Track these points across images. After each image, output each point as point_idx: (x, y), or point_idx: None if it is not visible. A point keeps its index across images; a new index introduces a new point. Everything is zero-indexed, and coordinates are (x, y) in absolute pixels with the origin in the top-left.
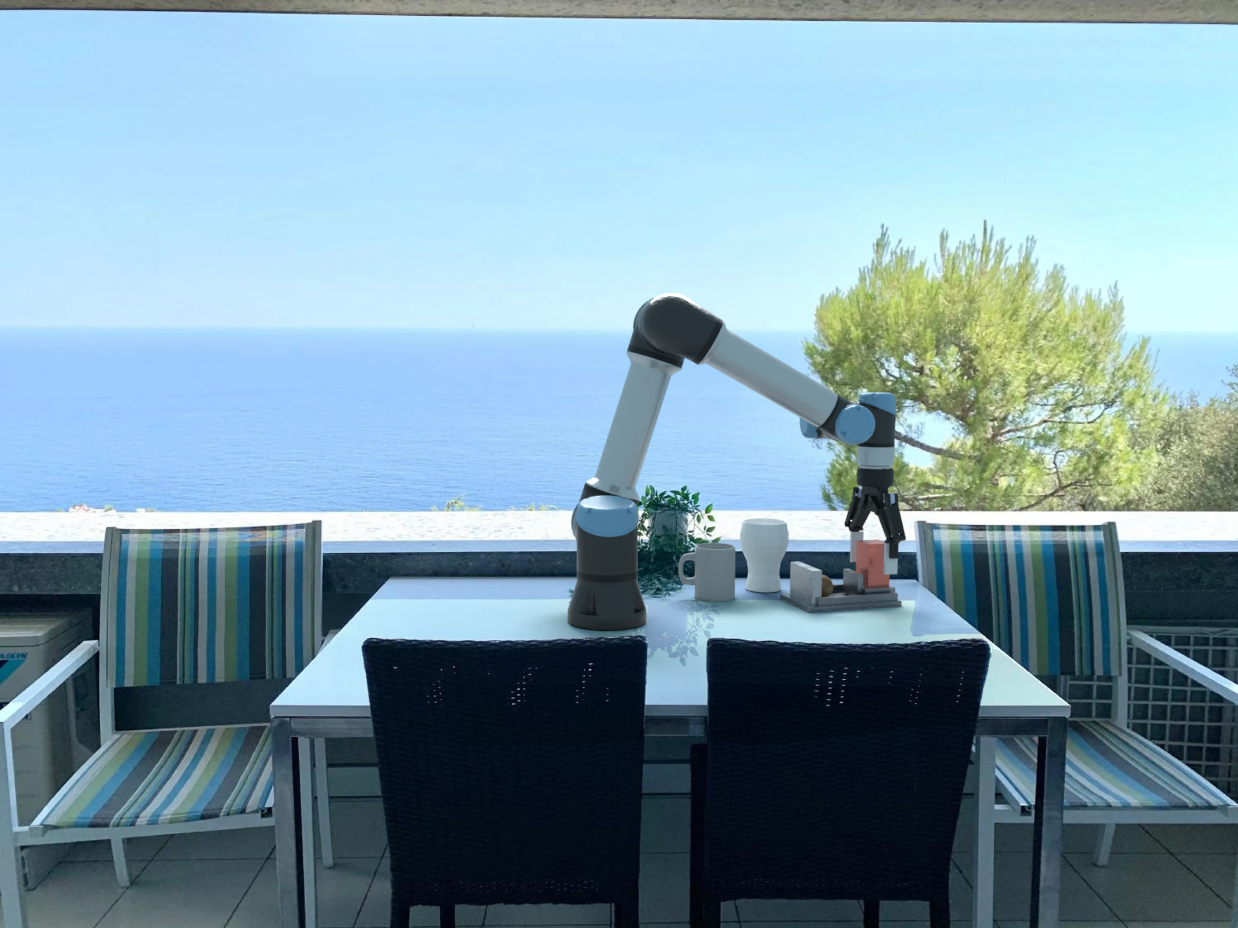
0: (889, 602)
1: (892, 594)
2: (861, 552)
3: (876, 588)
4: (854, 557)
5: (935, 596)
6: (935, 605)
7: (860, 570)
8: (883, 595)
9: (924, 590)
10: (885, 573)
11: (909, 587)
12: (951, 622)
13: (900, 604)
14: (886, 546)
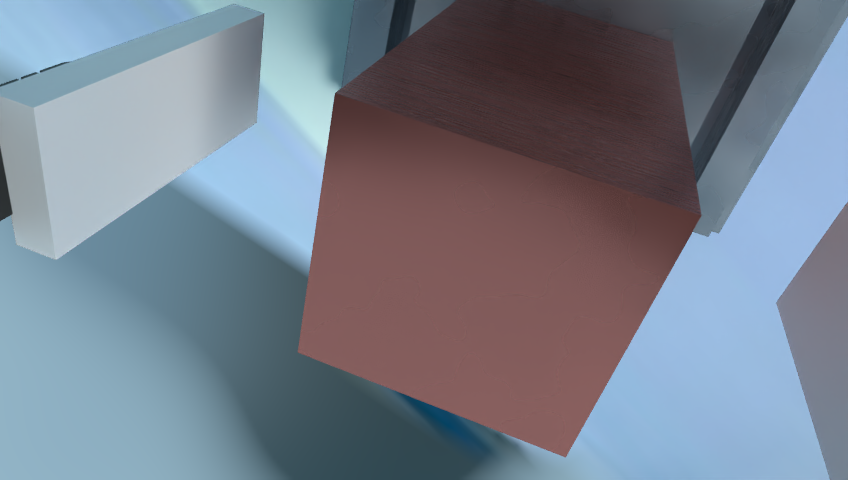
0: (351, 21)
1: (351, 74)
2: (560, 106)
3: (420, 17)
4: (843, 254)
5: None
6: (292, 240)
7: (591, 50)
8: (362, 4)
9: None
10: (230, 5)
11: (637, 455)
12: (4, 23)
13: None
14: (32, 80)
